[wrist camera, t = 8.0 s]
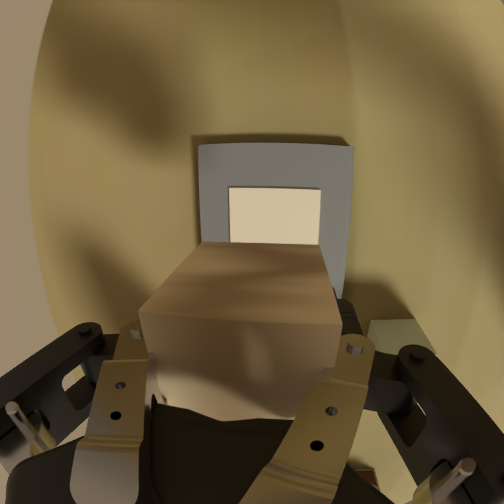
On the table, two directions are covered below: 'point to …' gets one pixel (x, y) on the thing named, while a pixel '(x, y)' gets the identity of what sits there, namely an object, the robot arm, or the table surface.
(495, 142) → the table surface
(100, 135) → the table surface
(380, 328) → the sage block
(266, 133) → the table surface
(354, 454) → the table surface
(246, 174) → the slate board
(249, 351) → the maple block
